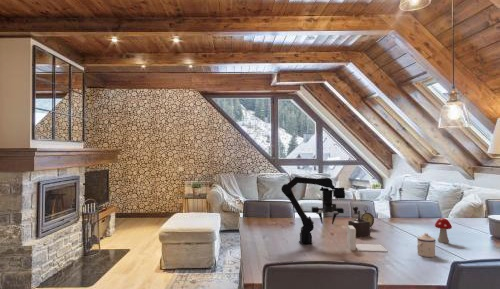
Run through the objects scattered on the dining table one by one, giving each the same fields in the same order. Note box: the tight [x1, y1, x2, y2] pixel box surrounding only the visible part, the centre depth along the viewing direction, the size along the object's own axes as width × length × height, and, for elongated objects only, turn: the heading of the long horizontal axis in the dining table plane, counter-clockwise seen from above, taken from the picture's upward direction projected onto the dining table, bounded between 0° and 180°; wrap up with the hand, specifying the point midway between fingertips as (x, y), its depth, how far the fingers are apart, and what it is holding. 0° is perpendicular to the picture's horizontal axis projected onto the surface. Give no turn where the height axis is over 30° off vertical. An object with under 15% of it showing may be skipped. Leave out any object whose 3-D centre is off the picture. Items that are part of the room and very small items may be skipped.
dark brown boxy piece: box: [347, 206, 371, 238], centre depth 248 cm, size 16×11×18 cm
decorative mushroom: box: [434, 217, 453, 245], centre depth 227 cm, size 10×9×15 cm
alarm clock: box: [360, 206, 375, 229], centre depth 266 cm, size 11×5×16 cm, turn 105°
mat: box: [356, 243, 388, 253], centre depth 211 cm, size 16×14×1 cm
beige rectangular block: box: [346, 225, 357, 251], centre depth 212 cm, size 3×10×12 cm, turn 174°
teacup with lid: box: [416, 233, 436, 258], centre depth 197 cm, size 12×9×12 cm
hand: (327, 224), depth 221 cm, fingers open, 6 cm apart
